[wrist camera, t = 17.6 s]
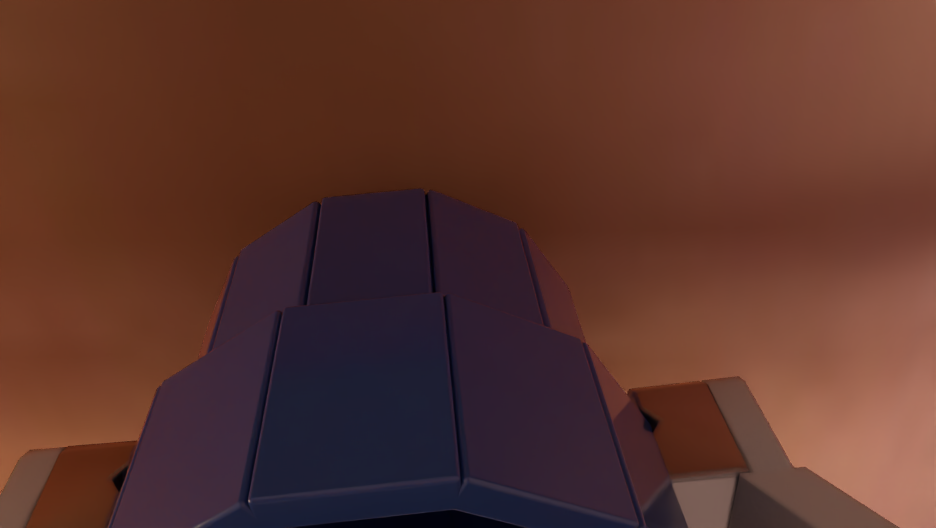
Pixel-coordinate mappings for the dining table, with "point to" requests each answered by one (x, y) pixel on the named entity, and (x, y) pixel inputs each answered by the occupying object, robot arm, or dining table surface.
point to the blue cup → (395, 388)
